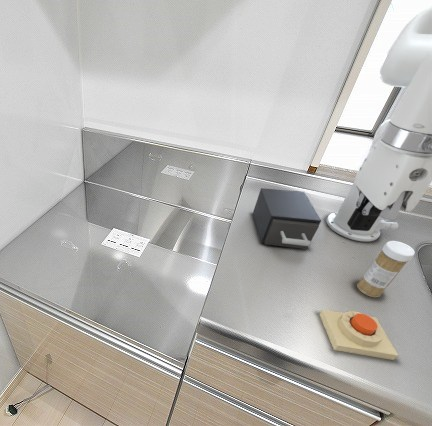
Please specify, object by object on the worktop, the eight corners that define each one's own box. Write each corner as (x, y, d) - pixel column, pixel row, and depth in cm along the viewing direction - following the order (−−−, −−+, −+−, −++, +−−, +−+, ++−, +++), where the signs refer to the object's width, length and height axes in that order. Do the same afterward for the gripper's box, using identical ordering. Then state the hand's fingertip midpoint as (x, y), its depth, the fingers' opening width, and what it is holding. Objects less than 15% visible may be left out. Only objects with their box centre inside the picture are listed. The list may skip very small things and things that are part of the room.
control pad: (372, 322, 61) (381, 312, 59) (393, 360, 54) (404, 350, 52) (319, 314, 62) (326, 304, 60) (333, 350, 56) (342, 340, 54)
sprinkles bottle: (383, 292, 67) (419, 249, 59) (374, 301, 65) (410, 258, 57) (361, 279, 70) (392, 236, 62) (352, 288, 68) (382, 245, 60)
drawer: (312, 260, 74) (325, 237, 69) (268, 255, 75) (277, 232, 71) (293, 220, 87) (303, 198, 82) (256, 216, 89) (263, 195, 84)
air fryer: (307, 248, 78) (321, 220, 73) (260, 243, 80) (271, 215, 75) (292, 218, 89) (304, 191, 83) (252, 214, 91) (260, 188, 85)
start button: (367, 320, 58) (371, 315, 57) (376, 337, 55) (381, 331, 54) (347, 317, 58) (351, 312, 57) (355, 333, 55) (359, 328, 54)
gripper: (481, 161, 39) (402, 258, 50) (412, 120, 50) (360, 206, 61) (416, 158, 40) (353, 253, 51) (362, 119, 51) (321, 203, 63)
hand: (357, 227), depth 56 cm, fingers closed
